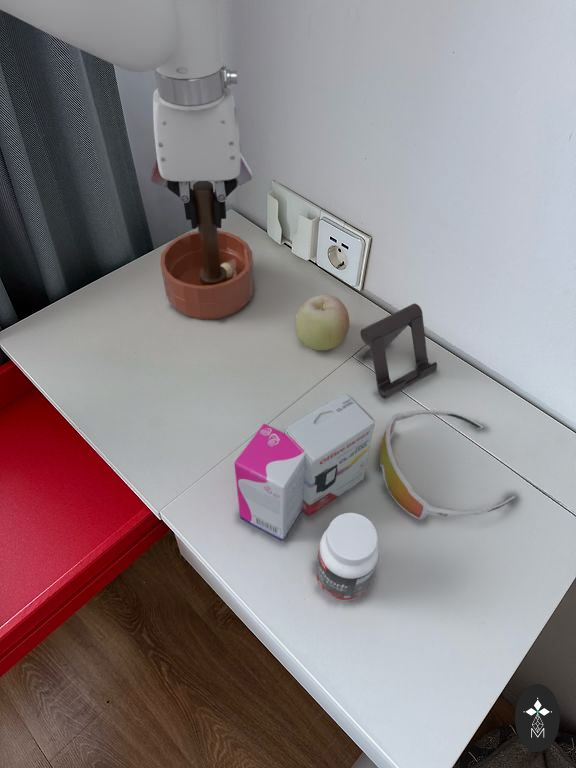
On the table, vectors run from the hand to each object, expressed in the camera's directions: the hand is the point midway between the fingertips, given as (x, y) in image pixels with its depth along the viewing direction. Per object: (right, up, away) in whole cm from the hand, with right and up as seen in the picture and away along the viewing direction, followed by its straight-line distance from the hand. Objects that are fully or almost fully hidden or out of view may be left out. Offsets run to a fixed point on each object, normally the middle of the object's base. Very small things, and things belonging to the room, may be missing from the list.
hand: (207, 221), depth 78 cm
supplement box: (+9, -36, -13) cm, 40 cm away
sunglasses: (+29, -33, -10) cm, 45 cm away
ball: (+2, -5, +10) cm, 11 cm away
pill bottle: (+17, -42, -18) cm, 49 cm away
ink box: (+15, -34, -11) cm, 39 cm away
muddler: (0, -6, +8) cm, 10 cm away
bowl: (-1, -8, +10) cm, 13 cm away
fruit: (+16, -16, +4) cm, 23 cm away
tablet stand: (+25, -20, 0) cm, 32 cm away
